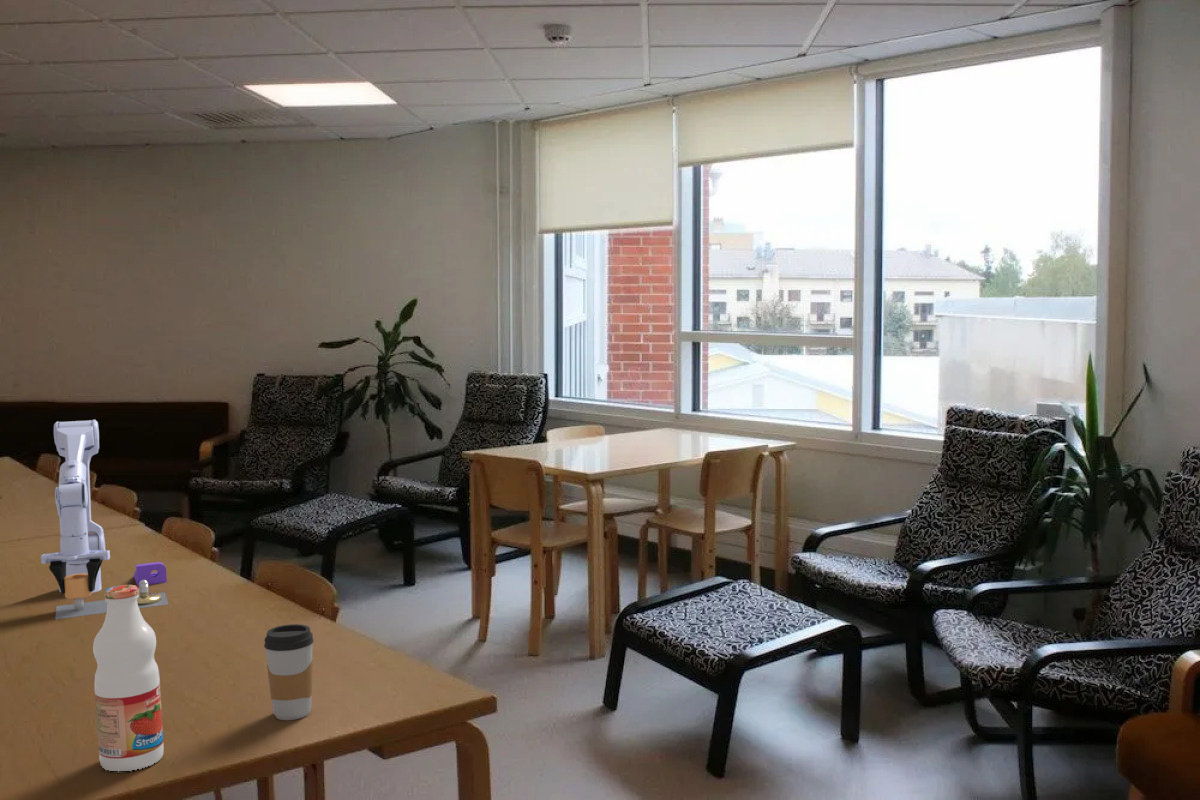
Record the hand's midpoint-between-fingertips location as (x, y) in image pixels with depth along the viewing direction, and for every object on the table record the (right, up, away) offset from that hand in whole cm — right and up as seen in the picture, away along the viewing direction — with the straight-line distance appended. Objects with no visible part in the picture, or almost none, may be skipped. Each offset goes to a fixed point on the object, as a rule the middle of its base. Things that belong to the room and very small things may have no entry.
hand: (78, 591), depth 250 cm
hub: (+13, -4, +6) cm, 15 cm away
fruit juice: (+48, -13, -81) cm, 95 cm away
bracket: (+5, -4, +28) cm, 28 cm away
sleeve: (0, -1, 0) cm, 1 cm away
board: (+6, -5, +4) cm, 9 cm away
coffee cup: (+68, -11, -62) cm, 93 cm away
